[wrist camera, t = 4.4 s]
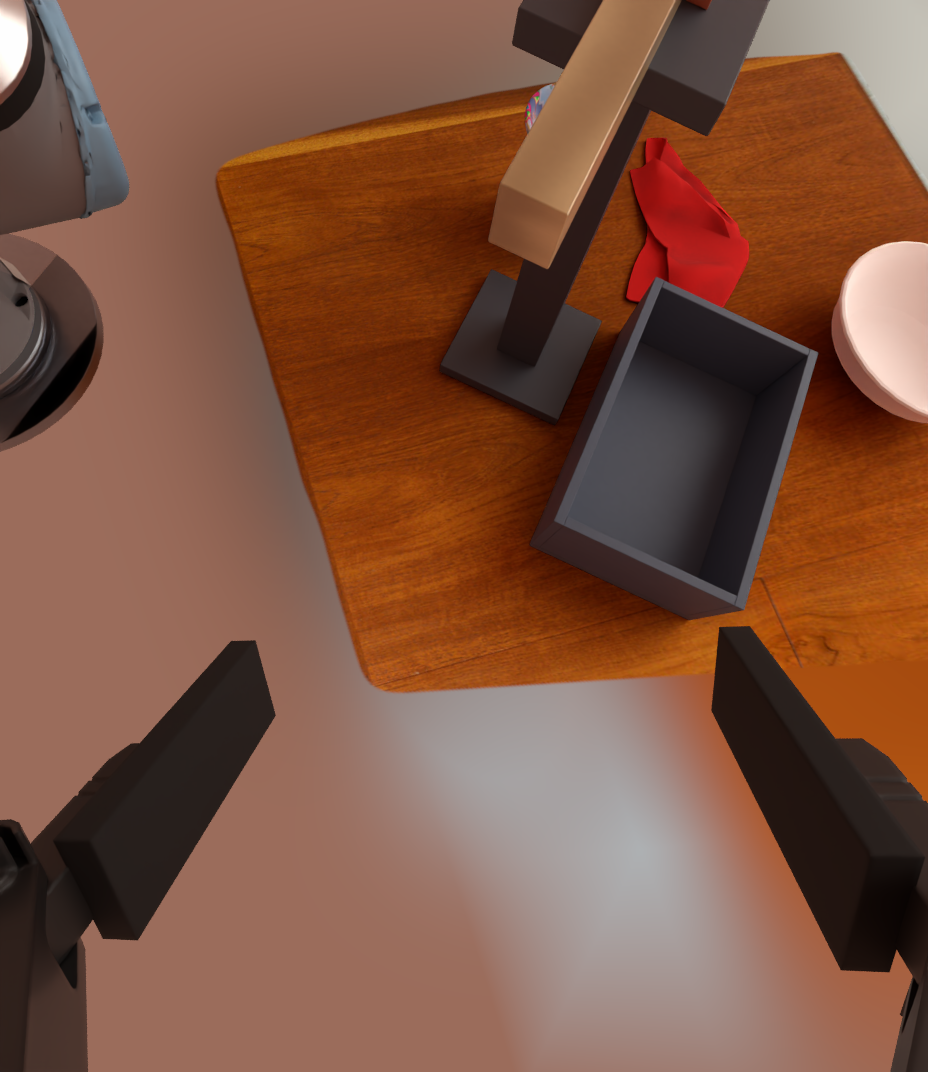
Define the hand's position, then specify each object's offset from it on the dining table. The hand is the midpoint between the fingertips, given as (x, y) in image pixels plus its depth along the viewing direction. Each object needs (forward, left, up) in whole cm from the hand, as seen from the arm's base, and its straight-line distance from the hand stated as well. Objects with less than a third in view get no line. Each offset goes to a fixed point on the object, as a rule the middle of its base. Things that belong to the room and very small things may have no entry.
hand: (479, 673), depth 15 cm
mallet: (-5, +25, -1) cm, 26 cm away
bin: (+11, +26, -29) cm, 41 cm away
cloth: (+6, +52, -29) cm, 60 cm away
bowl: (+30, +48, -29) cm, 64 cm away
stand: (-5, +31, -29) cm, 43 cm away
